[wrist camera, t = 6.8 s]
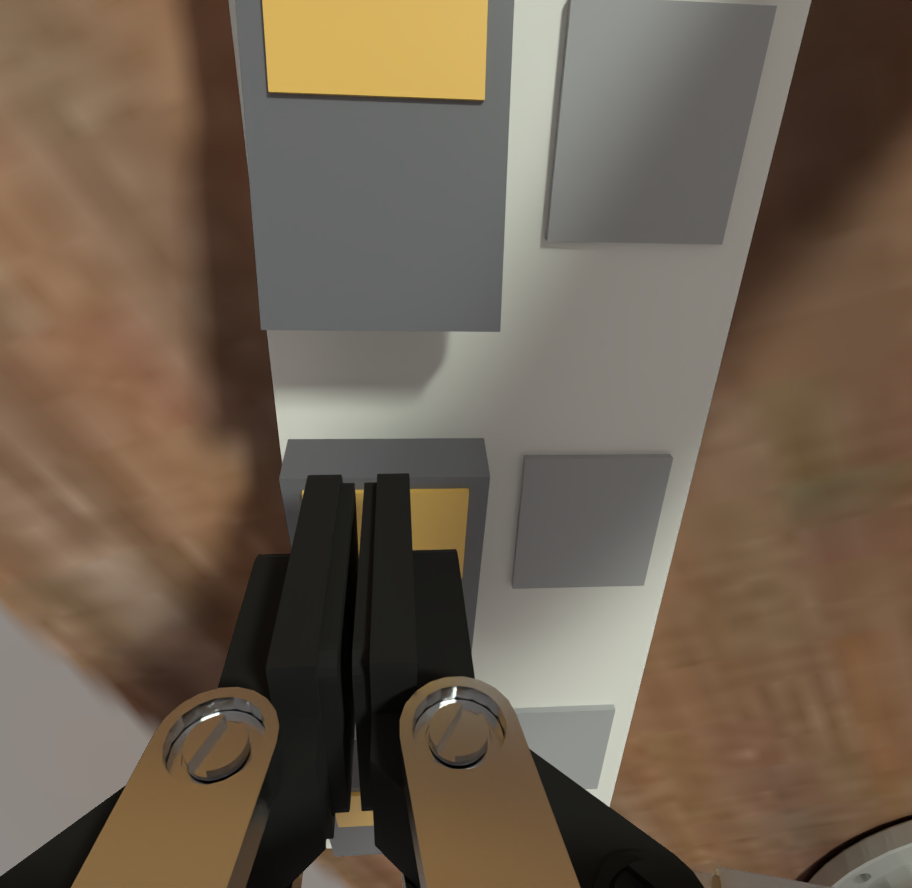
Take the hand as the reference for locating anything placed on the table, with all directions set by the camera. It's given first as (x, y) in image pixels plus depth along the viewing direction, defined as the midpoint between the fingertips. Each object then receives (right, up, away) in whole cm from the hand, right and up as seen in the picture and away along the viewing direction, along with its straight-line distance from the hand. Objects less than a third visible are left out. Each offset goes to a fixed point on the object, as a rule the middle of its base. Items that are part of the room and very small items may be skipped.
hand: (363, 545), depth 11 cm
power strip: (+2, 0, +9) cm, 9 cm away
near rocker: (0, +7, -1) cm, 7 cm away
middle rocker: (0, -1, +4) cm, 4 cm away
